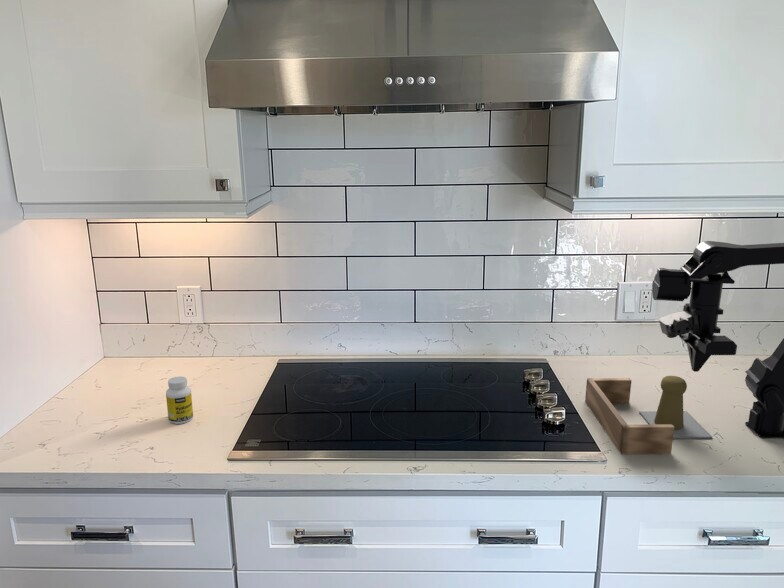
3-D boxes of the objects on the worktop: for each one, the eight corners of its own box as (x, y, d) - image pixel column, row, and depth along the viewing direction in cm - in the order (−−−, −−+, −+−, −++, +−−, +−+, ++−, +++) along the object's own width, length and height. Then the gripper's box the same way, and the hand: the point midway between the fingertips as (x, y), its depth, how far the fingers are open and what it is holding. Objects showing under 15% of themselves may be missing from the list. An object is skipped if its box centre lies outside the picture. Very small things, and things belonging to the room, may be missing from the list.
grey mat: (686, 412, 145) (686, 411, 145) (712, 438, 133) (712, 436, 133) (639, 412, 145) (639, 411, 145) (660, 438, 133) (660, 437, 133)
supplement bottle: (176, 427, 139) (171, 386, 136) (164, 419, 143) (159, 380, 140) (198, 418, 143) (194, 379, 140) (185, 411, 146) (181, 372, 144)
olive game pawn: (666, 431, 135) (672, 385, 132) (648, 419, 141) (653, 374, 138) (689, 428, 137) (696, 381, 134) (671, 415, 143) (677, 371, 140)
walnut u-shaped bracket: (627, 401, 151) (629, 378, 149) (671, 453, 127) (674, 427, 126) (585, 401, 151) (587, 378, 149) (621, 454, 127) (623, 427, 126)
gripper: (648, 290, 140) (641, 355, 145) (686, 315, 122) (677, 389, 127) (698, 290, 140) (689, 355, 145) (743, 315, 122) (732, 389, 127)
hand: (695, 370), depth 136 cm, fingers closed
